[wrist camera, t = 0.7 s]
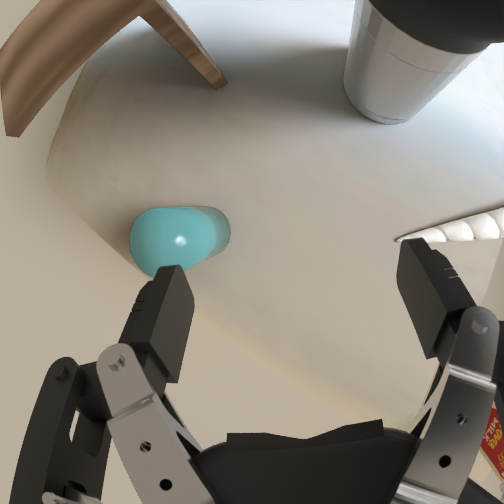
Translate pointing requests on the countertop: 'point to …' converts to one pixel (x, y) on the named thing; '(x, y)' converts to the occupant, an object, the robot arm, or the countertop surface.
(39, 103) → the shelf
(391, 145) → the countertop surface
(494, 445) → the milk carton
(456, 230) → the unicorn horn
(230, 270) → the countertop surface
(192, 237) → the teal rounded cylinder
